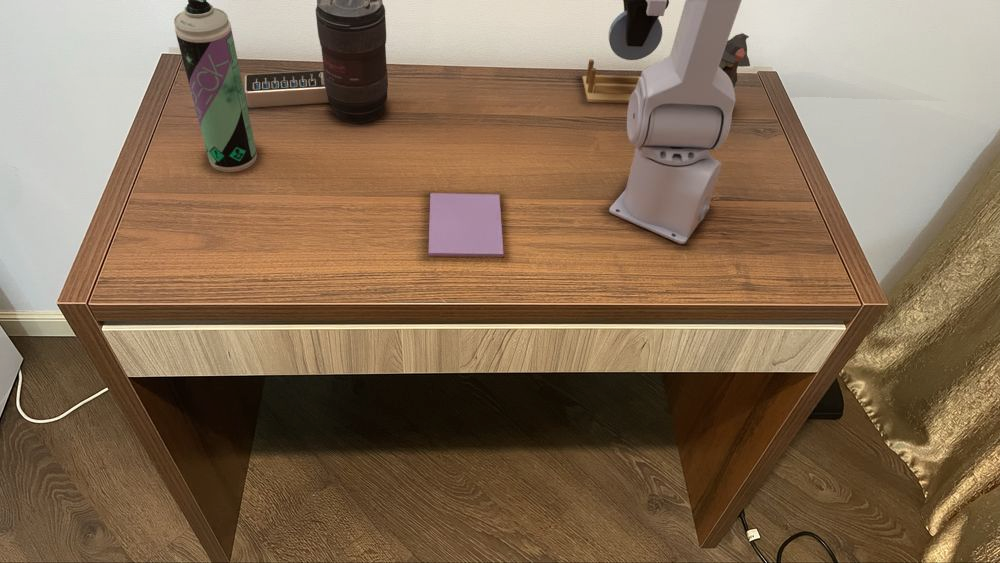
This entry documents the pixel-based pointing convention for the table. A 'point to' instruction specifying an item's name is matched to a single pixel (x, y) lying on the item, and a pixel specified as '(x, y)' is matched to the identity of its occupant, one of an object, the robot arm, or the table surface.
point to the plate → (620, 43)
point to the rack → (608, 86)
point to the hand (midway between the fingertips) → (633, 42)
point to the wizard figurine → (734, 56)
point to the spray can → (216, 85)
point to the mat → (465, 225)
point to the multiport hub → (285, 89)
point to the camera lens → (354, 57)
